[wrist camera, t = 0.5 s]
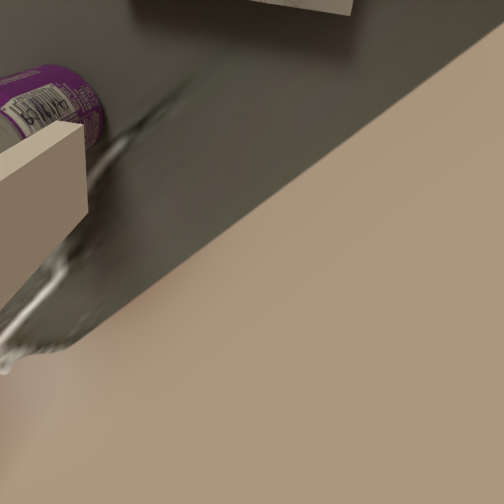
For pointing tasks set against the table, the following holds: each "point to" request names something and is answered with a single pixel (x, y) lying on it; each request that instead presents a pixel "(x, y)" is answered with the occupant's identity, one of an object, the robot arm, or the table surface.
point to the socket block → (316, 5)
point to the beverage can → (46, 104)
